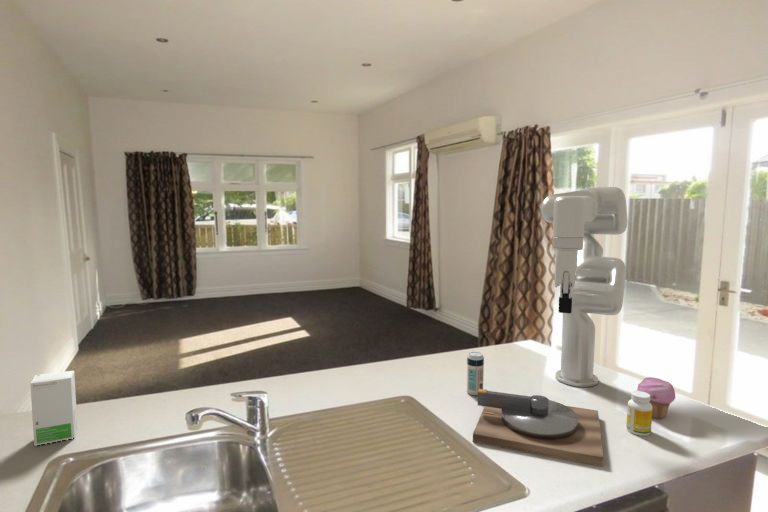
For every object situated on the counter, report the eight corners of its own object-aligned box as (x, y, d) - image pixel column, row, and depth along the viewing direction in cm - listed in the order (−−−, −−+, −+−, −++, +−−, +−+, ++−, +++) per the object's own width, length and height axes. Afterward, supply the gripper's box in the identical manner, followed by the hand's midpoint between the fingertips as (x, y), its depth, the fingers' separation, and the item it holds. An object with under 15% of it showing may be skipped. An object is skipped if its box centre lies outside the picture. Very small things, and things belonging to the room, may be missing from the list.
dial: (576, 410, 120) (577, 389, 119) (579, 444, 103) (580, 419, 103) (482, 397, 128) (483, 377, 128) (472, 427, 112) (472, 404, 111)
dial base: (489, 401, 131) (489, 393, 131) (597, 417, 121) (598, 409, 121) (472, 441, 109) (472, 433, 109) (602, 466, 99) (603, 456, 99)
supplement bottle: (621, 428, 115) (623, 391, 114) (635, 424, 117) (637, 388, 116) (641, 438, 110) (643, 400, 109) (655, 433, 113) (658, 396, 111)
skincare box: (33, 447, 108) (27, 383, 106) (39, 435, 114) (33, 374, 112) (76, 438, 112) (70, 377, 110) (79, 427, 118) (74, 368, 116)
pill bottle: (482, 390, 139) (482, 351, 138) (484, 396, 134) (484, 357, 133) (466, 389, 140) (466, 351, 138) (467, 396, 135) (467, 356, 133)
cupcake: (635, 405, 128) (637, 370, 127) (672, 412, 124) (675, 376, 123) (635, 418, 120) (638, 382, 119) (675, 426, 116) (677, 388, 115)
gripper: (553, 241, 129) (551, 305, 131) (551, 246, 115) (548, 317, 117) (582, 241, 126) (579, 307, 128) (583, 247, 112) (580, 320, 115)
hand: (564, 312), depth 123 cm, fingers closed
